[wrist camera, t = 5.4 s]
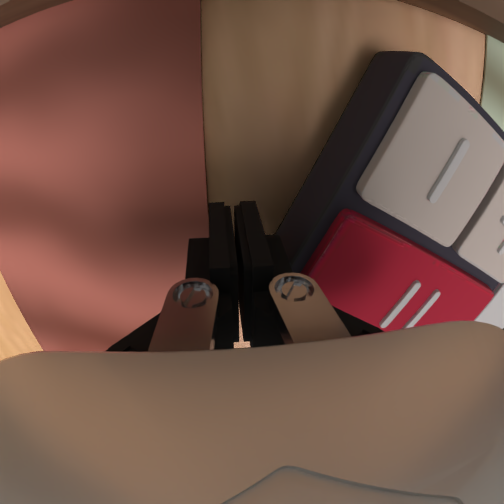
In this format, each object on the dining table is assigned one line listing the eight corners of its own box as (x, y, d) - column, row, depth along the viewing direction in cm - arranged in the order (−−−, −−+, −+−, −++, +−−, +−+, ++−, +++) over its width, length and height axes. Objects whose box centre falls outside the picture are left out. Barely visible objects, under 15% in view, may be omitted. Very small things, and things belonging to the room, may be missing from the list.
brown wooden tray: (-51, 33, 6) (-94, 40, 3) (583, 81, 9) (614, 94, 7) (56, 367, 18) (45, 404, 15) (507, 316, 21) (524, 340, 19)
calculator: (430, 45, 6) (579, 238, 11) (371, 46, 10) (537, 203, 14) (259, 328, 12) (471, 373, 16) (253, 261, 15) (445, 327, 19)
